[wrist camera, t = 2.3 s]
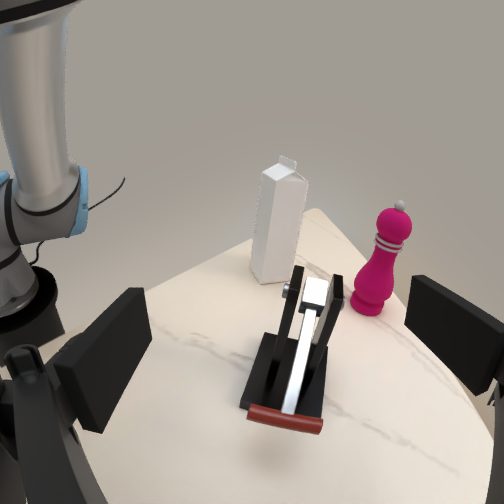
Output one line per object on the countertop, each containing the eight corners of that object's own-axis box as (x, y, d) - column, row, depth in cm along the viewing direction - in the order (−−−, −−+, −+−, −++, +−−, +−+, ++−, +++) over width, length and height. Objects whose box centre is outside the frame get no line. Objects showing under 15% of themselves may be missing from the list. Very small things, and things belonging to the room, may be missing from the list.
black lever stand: (316, 425, 27) (368, 333, 20) (239, 407, 29) (255, 308, 22) (325, 353, 38) (358, 262, 31) (263, 339, 39) (281, 245, 32)
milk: (260, 285, 51) (278, 160, 41) (248, 267, 56) (263, 153, 46) (290, 281, 53) (313, 163, 43) (276, 264, 58) (295, 155, 48)
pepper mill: (352, 289, 53) (382, 190, 44) (386, 302, 50) (421, 203, 41) (342, 308, 47) (377, 197, 38) (380, 323, 44) (422, 213, 35)
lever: (315, 435, 20) (321, 434, 18) (246, 420, 21) (245, 418, 19) (341, 297, 28) (347, 285, 26) (285, 284, 29) (287, 271, 27)
